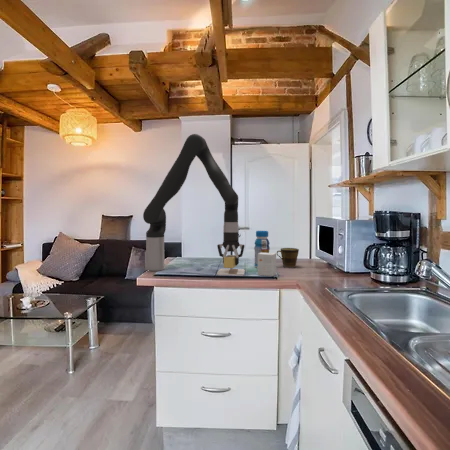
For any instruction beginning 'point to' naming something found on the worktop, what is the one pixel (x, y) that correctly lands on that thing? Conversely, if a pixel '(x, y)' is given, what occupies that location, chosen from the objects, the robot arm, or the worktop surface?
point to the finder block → (230, 261)
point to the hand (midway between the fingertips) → (230, 264)
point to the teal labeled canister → (261, 244)
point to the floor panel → (231, 272)
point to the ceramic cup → (289, 257)
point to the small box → (266, 264)
